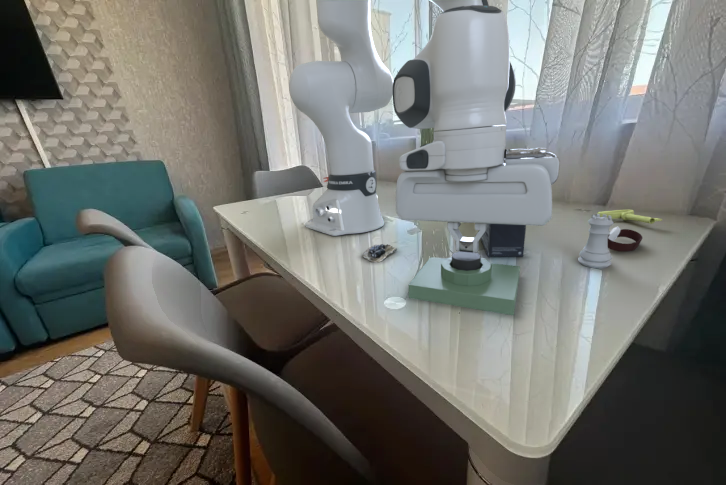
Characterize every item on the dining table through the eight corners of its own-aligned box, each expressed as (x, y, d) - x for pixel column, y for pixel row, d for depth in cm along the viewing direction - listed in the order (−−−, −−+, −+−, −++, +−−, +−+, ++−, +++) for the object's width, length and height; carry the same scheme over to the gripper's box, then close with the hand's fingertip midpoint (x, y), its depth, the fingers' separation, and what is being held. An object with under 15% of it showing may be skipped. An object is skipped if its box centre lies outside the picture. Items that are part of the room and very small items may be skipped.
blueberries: (399, 247, 67) (398, 239, 67) (393, 263, 60) (392, 253, 59) (368, 247, 69) (367, 239, 68) (358, 262, 62) (357, 253, 61)
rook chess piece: (571, 262, 53) (577, 215, 51) (589, 256, 55) (596, 211, 52) (599, 271, 50) (607, 221, 47) (617, 265, 51) (626, 216, 48)
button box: (408, 298, 47) (407, 273, 46) (430, 268, 56) (430, 247, 55) (513, 315, 41) (515, 287, 39) (519, 279, 50) (521, 255, 48)
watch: (618, 239, 61) (621, 220, 60) (648, 245, 57) (652, 226, 56) (594, 248, 58) (597, 229, 57) (625, 256, 54) (629, 235, 53)
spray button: (448, 270, 46) (448, 259, 46) (455, 260, 50) (455, 249, 49) (477, 273, 45) (478, 262, 44) (482, 262, 48) (482, 252, 47)
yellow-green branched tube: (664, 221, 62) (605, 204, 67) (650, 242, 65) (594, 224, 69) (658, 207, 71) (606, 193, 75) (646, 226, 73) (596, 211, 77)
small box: (526, 257, 57) (531, 199, 53) (487, 257, 58) (489, 201, 55) (512, 238, 67) (516, 187, 63) (479, 238, 68) (481, 189, 65)
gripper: (560, 144, 40) (550, 249, 44) (404, 153, 49) (408, 239, 54) (563, 148, 34) (550, 267, 39) (388, 158, 44) (394, 252, 48)
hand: (467, 250), depth 46 cm, fingers closed
